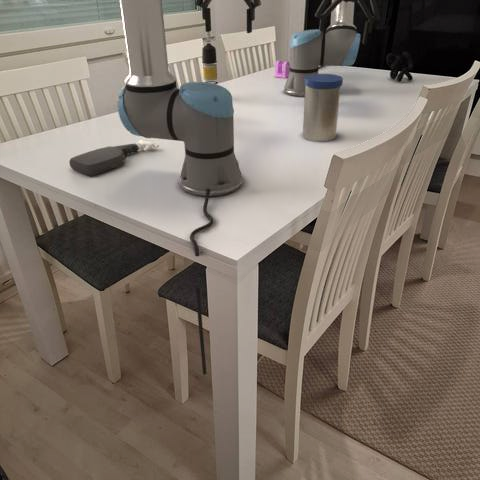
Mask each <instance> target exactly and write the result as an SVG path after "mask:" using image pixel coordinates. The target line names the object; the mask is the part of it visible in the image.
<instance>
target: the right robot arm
mask: <svg viewBox="0 0 480 480" xmlns="http://www.w3.org/2000/svg"><path fill="white" fill-rule="evenodd" d="M329 1H330V0H321V3H320V4H319V7H318V8H317V10H316V12H315V14H314V17H316V18H317V19H319V27H318V29H317V28H316V29H306V30H301V31H298V32H297V31H296V32H294V33H293V34H292V35H291V37H290V45H289V48H290V51H289V62H290V69H289V75H288V77H287V78H286V81H285V84H284V87H283V88H284V89H283V92H284V94H286V95H288V96H293V97H302V98H303V97H304V98H305V84H304V80H305V77H306V76H308V75H312V74H319V69H321V68H323V67H349V66H353V65H354V64H355V62H356V59H357V56H358V52H359V49H360V43H362V45H367V41H368V35H369V34H371V33H372V30H373V26H374V25H373V24H374V22H375V21H379V20H380V19H381V16H380V13H379V8H378V4H377V0H369V2H370V6H371V10H372V13H371V11H370V9H369V8H368V5H367V4H366V2H365V0H331V4H330V5H329V6H328V7H327V5H328V3H329ZM356 2H357V3H358V5H359V6H360V7H361V9H362V11H363V13H364V15H365V16H366V18H367V20H365V24H364V28H363V34H362V40H361V34H360V33H358V32H357V29H358V27H357V26H356V25H354V15H355V14H354V12H355V3H356ZM326 7H327V8H326ZM325 9H326V10H325ZM372 14H373V15H372ZM329 15H330V25H328V19H327V18H328V17H329ZM327 25H328V27H327Z"/></svg>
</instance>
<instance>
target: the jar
mask: <svg viewBox="0 0 480 480" xmlns="http://www.w3.org/2000/svg"><path fill="white" fill-rule="evenodd" d="M341 87H342V86H340V87H337V88H330V89H319V88H312V87H308V86H306V85H305V97H304V101H303V102H304V103H303V120H302V123H303V124H302V137H303V138H304V139H306V140H307V141H312V142H329V141H332V140H335V139H336V136H337V128H338V117H339V106H340V98H341V97H340V96H341V89H342V88H341Z"/></svg>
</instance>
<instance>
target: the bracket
mask: <svg viewBox="0 0 480 480" xmlns="http://www.w3.org/2000/svg"><path fill="white" fill-rule="evenodd" d="M274 66H275V67H274V69H275V70H274V77H276V78H284V79H287V78H288V75H289V69H290V60H289V61H288V60H285V61H284V62H283V60H280V59H279V60H276V61H275V65H274Z"/></svg>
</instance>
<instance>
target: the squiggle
mask: <svg viewBox="0 0 480 480" xmlns="http://www.w3.org/2000/svg"><path fill="white" fill-rule="evenodd" d="M401 57H402V59H401ZM391 59H392V60H391ZM393 60H394V61H393ZM385 61H386V64H387V67H390V68H391V70H390V72H389V78H390V79H391V80H395V79H396V81H397V82H399V83H400V82H402V81H403V79H404V76H406V78H407V80H408V81H412V80H413V79H414V77H413V75H412V74H411V73H410V72H409V71H410V70H412V69H413V68H414V64H413V61H412V57H411V54H410V53H409V52H408V51H403V53H402V54H401V55H396V54H394V53H392V52H390V53H387V55H386V57H385ZM406 62H407V65H408V66H407V67H405V66H404V65H405V64H406ZM400 70H401V71H400Z"/></svg>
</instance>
